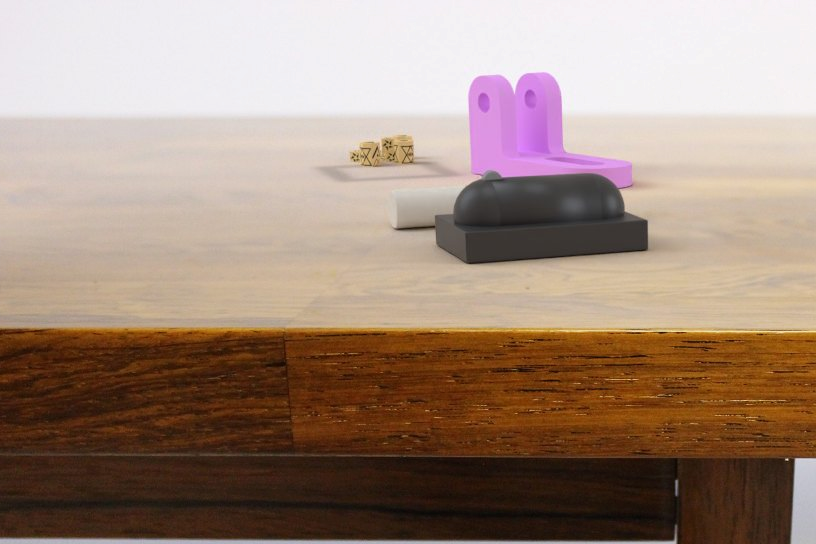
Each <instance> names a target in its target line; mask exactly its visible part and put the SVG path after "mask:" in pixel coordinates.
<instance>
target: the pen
mask: <svg viewBox="0 0 816 544" xmlns="http://www.w3.org/2000/svg"><path fill="white" fill-rule="evenodd" d="M467 185H468V184H467ZM467 185H451V186H436V187H435V186H433V187H416V188H414V187H413V188H397V189H396V188H395V189H394V188H393V189H390V190H389V192H388V195H387V211H388V217H389V221H390V224H391V226H392V228H393V229H411V228H426V227H435V215H444V214H453V209H454V204H455V202H456V199H457V197H458V195H459V194H460V192H461V191H462V190H463V189H464V188H465V187H466V186H467Z"/></svg>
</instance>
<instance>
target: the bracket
mask: <svg viewBox="0 0 816 544" xmlns="http://www.w3.org/2000/svg"><path fill="white" fill-rule="evenodd" d="M467 96H468V98H467V100H468V101H467V102H468V121H469V122H468V124H469V143H470V163H471V165H470V166H471V174H474V175H481V176H482V175H483V174H484V173H485V172H486V171H488V170H494V171H496V172H498V173H499V174H500V175H501V176H502V177H520V176H539V175H558V174H577V173H595V174H599V175H602V176H604V177H606V178H608V179H609V180H611V181H612V182H613V183H614V184H615V185H616V186H617V188H618V189H623V188H627V187H630V186H632V185H633V163H632V162H631V161H628V160H622V159H616V158H608V157H600V156H595V155H586V154H581V153H573V152H572V153H571V152H567V151H566V150H565V149H564V136H563V135H564V134H563V132H564V131H563V100H562V99H563V97H562V92H561V88H560V85H559V82H558V81H557V80H556V78H555V76H553V75H552V74H551V73H549V72H546V71H542V72H541V71H540V72H526V73H524V74H523V75H521V76H520V77H519V79H518V80H517V83H516V85H515V90H514V88H513V86H512V84H511V82H510V81H509V80H508V79H507V78H506V77H505V76H503V75H501V74H488V75H487V74H486V75H478V76H476V77H475V78H473V80H472V82H471V84H470V86H469V90H468V95H467Z"/></svg>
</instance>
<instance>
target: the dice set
mask: <svg viewBox="0 0 816 544" xmlns="http://www.w3.org/2000/svg"><path fill="white" fill-rule="evenodd" d="M380 142H381V144H380ZM358 143H359V149H354V150H350V151H349V162H351V163H360V167H364V168H376V167H377V168H378V167H381V166H382V162H384V163H390V162H394V165H414V164H415V151H414V148H415V147H414V139H413V135H411V134H394V135H393V136H392V137H390V136H389V137H386V136H385V137H384V136H383V137H380V141H375V140H373V141H371V140H370V141H369V140H368V141H359V142H358Z"/></svg>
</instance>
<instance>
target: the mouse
mask: <svg viewBox="0 0 816 544" xmlns="http://www.w3.org/2000/svg"><path fill="white" fill-rule="evenodd" d="M465 186H466V185H465ZM625 207H626V206H625V200H624V197H623V194H622V192H621V191H620V188H617V186H616V185H615V184H614V183H613V182H612V181H611V180H609V179H608V178H606V177H604V176H602V175H599V174H595V173H577V174H558V175H539V176H520V177H502V176H501V175H500V174H499V173H498V172H496V171H494V170H488V171H486V172H485V173H484V174H483V175H481V178H479V179H476V180H473V181H472V182H470V183H469V184H467V186H466V187H465V188H464V189H463V190H462V191H461V192H460V194H459V195H458V197H457V199H456V202H455V204H454V209H453V214H444V215H435V226H434V230H435V244H436V245H437V246H438V247H440V248H442V249H443V250H445V251H446V252H448V253H450V254H452V255H453V256H455V257H456V258H458V259H459V260H462V262H465V263H466V264H477V263H492V262H503V261H517V260H518V261H519V260H530V259H531V260H532V259H543V258H555V257H556V258H557V257H570V256H582V255H596V254H609V253H623V252H634V251H646V250H647V251H648V250H649V220H648V219H646V218H643V217H640V216H638V215H635V214H633V213H631V212H628V211H625V210H626V208H625Z"/></svg>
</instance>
